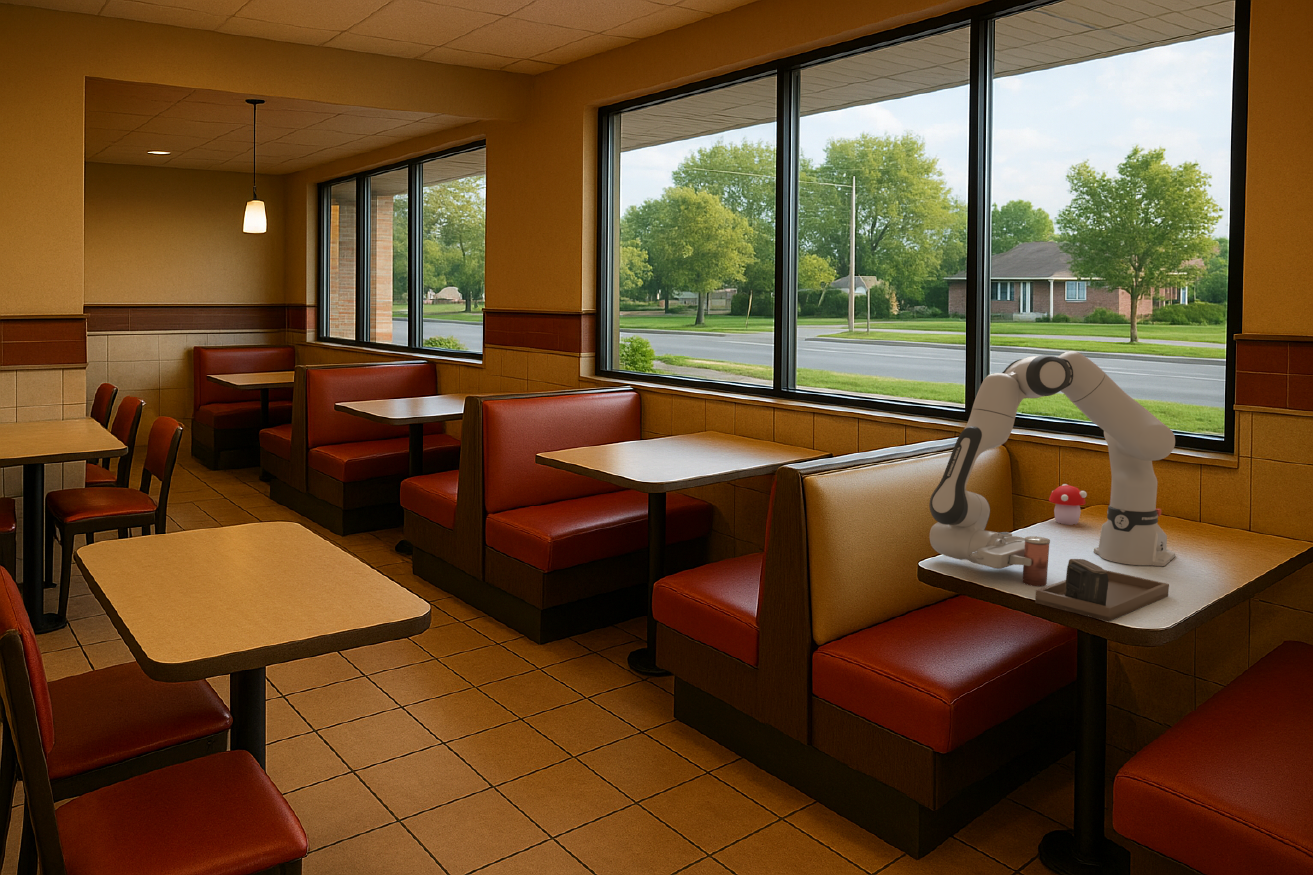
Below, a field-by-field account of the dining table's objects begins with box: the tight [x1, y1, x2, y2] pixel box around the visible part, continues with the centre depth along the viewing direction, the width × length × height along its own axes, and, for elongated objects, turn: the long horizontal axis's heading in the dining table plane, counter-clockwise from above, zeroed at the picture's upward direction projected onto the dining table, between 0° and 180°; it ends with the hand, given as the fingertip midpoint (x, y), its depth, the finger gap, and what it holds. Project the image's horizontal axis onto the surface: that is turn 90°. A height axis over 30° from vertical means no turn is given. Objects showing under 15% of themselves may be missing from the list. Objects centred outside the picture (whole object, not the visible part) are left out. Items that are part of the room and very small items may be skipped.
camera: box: [1064, 558, 1109, 606], centre depth 220 cm, size 11×6×10 cm, turn 4°
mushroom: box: [1048, 483, 1088, 526], centre depth 306 cm, size 11×11×12 cm
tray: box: [1034, 569, 1170, 623], centre depth 226 cm, size 30×17×3 cm, turn 130°
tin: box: [1021, 535, 1051, 587], centre depth 238 cm, size 6×6×11 cm
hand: (1039, 559), depth 238 cm, fingers closed on tin, 6 cm apart
